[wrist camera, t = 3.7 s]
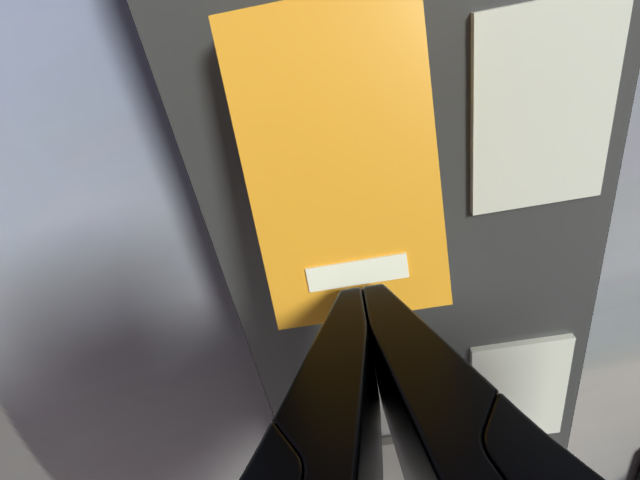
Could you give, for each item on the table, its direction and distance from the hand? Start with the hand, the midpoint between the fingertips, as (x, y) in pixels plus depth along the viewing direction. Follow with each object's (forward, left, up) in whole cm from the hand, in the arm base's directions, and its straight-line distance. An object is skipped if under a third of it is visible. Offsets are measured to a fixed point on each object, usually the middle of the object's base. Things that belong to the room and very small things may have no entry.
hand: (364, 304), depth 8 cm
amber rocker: (+2, 0, -1) cm, 3 cm away
